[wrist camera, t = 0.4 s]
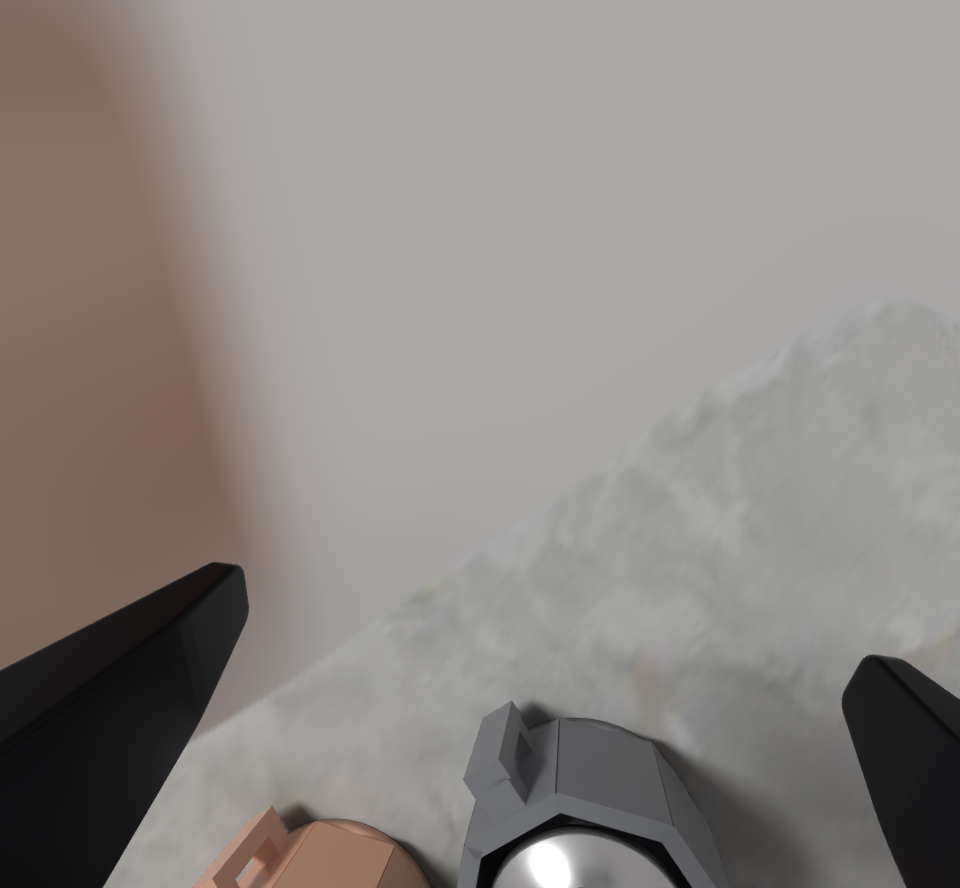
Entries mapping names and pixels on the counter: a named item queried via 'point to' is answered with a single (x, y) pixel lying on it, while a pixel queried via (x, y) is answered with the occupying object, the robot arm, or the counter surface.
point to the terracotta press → (312, 857)
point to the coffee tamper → (581, 861)
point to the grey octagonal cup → (579, 795)
